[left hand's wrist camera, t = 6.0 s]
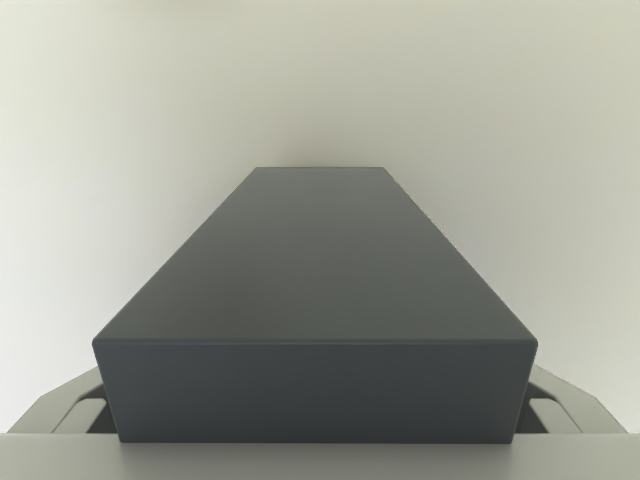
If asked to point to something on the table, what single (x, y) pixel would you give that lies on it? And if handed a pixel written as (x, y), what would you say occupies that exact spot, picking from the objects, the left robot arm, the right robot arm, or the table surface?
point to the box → (316, 326)
